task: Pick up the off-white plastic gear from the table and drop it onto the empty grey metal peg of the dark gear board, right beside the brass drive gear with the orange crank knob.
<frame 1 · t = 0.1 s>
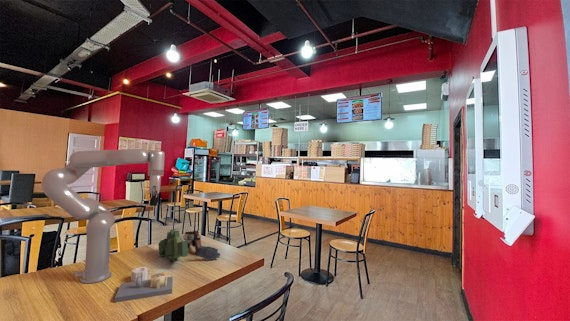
hand: (154, 204, 133), 37 cm above the table, tool pointing down, fingers open, 9 cm apart
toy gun: (192, 249, 168), on the table
gear board: (146, 290, 112), on the table
stone: (208, 261, 149), on the table
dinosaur: (174, 260, 148), on the table
loose gear: (139, 279, 122), on the table
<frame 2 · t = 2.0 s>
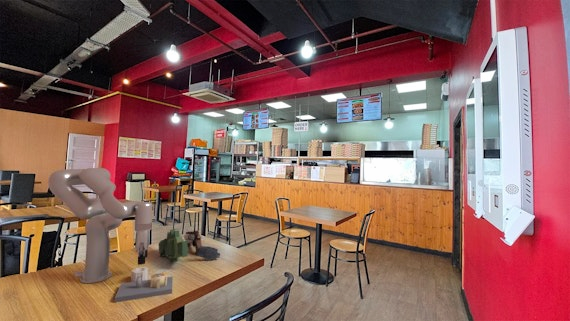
hand: (142, 260, 122), 10 cm above the table, tool pointing down, fingers open, 9 cm apart
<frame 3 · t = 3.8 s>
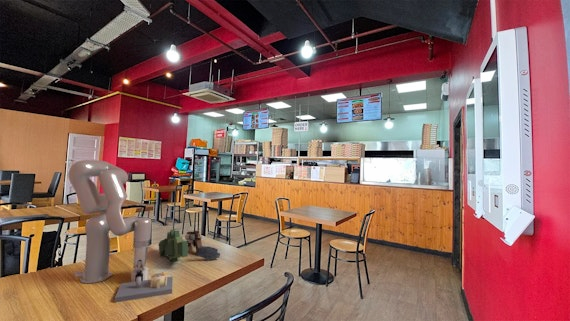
hand: (139, 278, 122), 1 cm above the table, tool pointing down, fingers closed on loose gear, 7 cm apart
loose gear: (139, 279, 122), on the table, touching gripper
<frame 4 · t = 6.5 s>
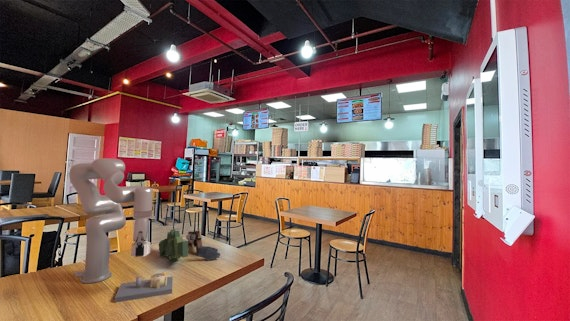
hand: (140, 252, 112), 18 cm above the table, tool pointing down, fingers closed on loose gear, 7 cm apart
loose gear: (140, 254, 112), point 17 cm above the table, touching gripper
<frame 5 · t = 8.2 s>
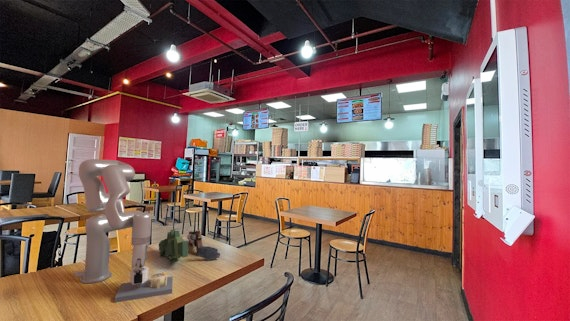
hand: (139, 278, 111), 6 cm above the table, tool pointing down, fingers closed on loose gear, 7 cm apart
loose gear: (139, 280, 111), point 5 cm above the table, touching gripper
when the fingers open (4 cm above the table, at t = 9.6 s): loose gear stays where it is, resting on gear board.
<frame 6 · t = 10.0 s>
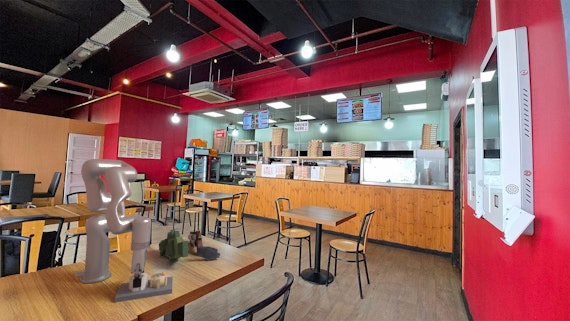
hand: (138, 282, 111), 4 cm above the table, tool pointing down, fingers open, 9 cm apart
loose gear: (138, 287, 111), point 2 cm above the table, touching gear board
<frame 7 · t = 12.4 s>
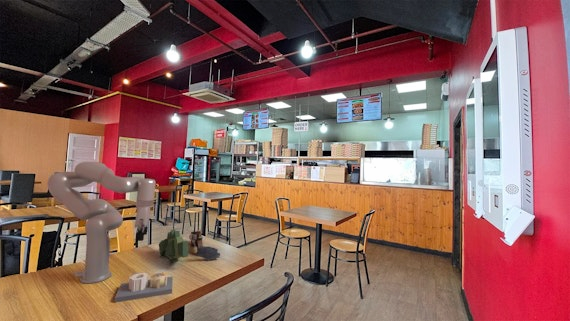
hand: (141, 237, 121), 22 cm above the table, tool pointing down, fingers open, 9 cm apart
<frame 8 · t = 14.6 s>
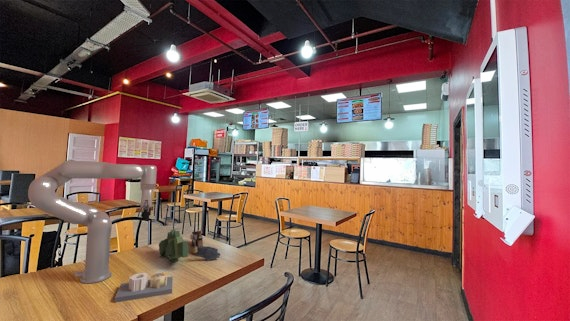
hand: (146, 217, 136), 28 cm above the table, tool pointing down, fingers open, 9 cm apart
at the end: loose gear 0.0 cm from the target spot on the gear board, point 2.0 cm above the gear board's base; loose gear tilted 0°; the gripper is holding nothing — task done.
